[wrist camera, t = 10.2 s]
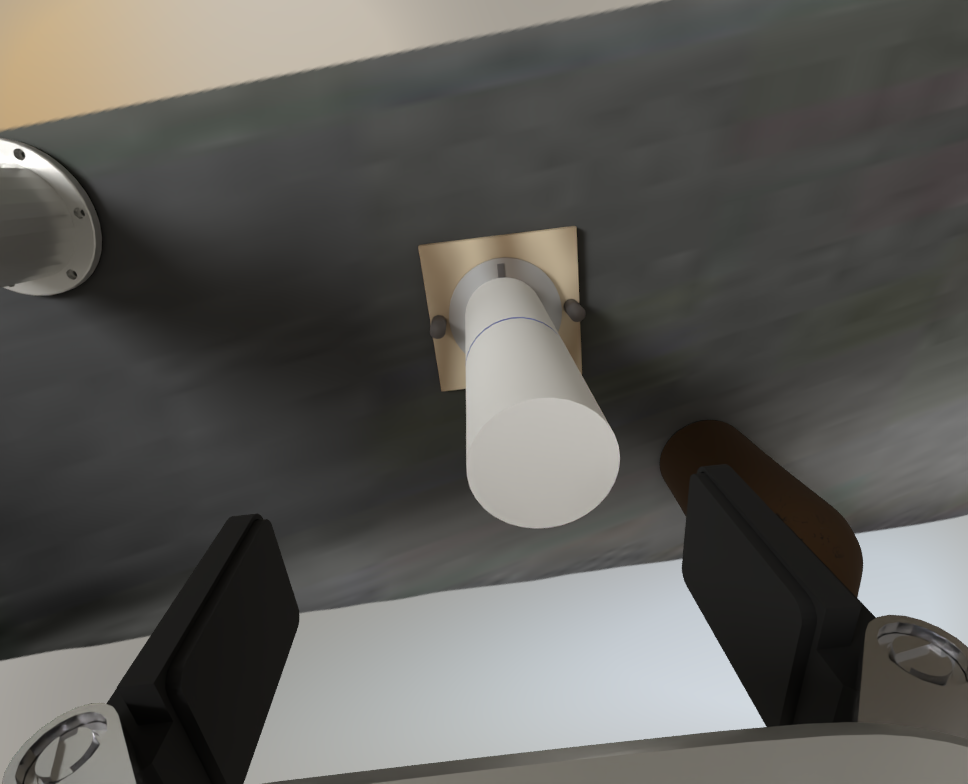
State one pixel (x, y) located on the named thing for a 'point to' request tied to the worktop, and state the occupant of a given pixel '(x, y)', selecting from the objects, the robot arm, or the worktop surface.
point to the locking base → (475, 261)
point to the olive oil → (765, 492)
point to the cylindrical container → (530, 414)
